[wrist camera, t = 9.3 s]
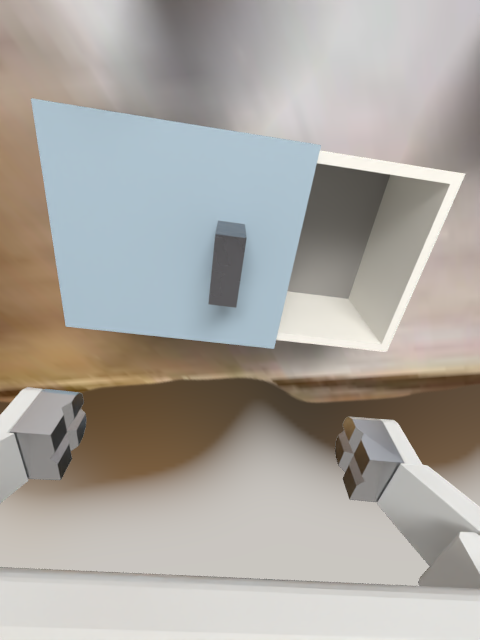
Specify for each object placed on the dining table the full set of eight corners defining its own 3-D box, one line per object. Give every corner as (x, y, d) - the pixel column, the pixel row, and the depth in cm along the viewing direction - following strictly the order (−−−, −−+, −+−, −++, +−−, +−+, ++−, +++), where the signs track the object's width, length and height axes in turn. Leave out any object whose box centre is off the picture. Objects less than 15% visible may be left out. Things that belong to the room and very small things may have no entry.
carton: (210, 285, 39) (202, 331, 29) (225, 137, 31) (220, 134, 22) (350, 302, 40) (386, 351, 31) (397, 164, 33) (465, 173, 23)
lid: (70, 322, 28) (41, 352, 24) (38, 99, 20) (-14, 88, 16) (273, 343, 30) (279, 376, 26) (318, 145, 22) (338, 145, 18)
